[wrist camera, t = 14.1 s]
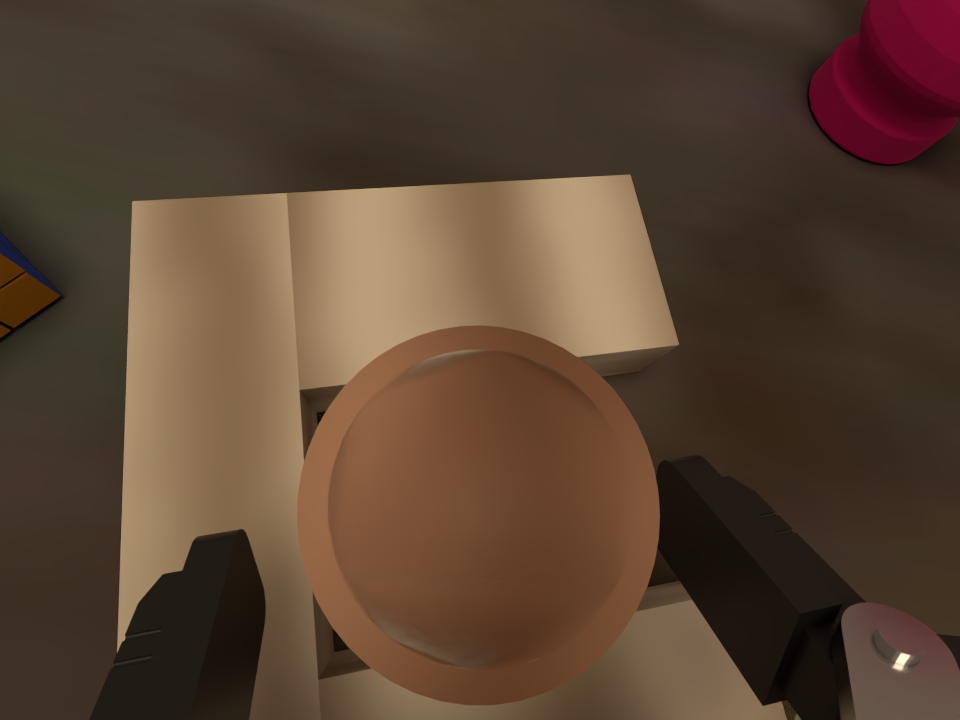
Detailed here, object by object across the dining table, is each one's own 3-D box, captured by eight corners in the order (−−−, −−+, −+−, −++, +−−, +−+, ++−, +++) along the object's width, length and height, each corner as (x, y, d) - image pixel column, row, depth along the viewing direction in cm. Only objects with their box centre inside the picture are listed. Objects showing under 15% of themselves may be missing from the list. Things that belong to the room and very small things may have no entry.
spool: (367, 616, 16) (309, 749, 6) (352, 445, 17) (286, 343, 8) (533, 584, 17) (702, 658, 7) (505, 424, 18) (613, 310, 9)
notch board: (169, 981, 13) (101, 1112, 10) (174, 251, 18) (132, 201, 15) (752, 806, 15) (829, 869, 13) (600, 222, 21) (630, 174, 18)
